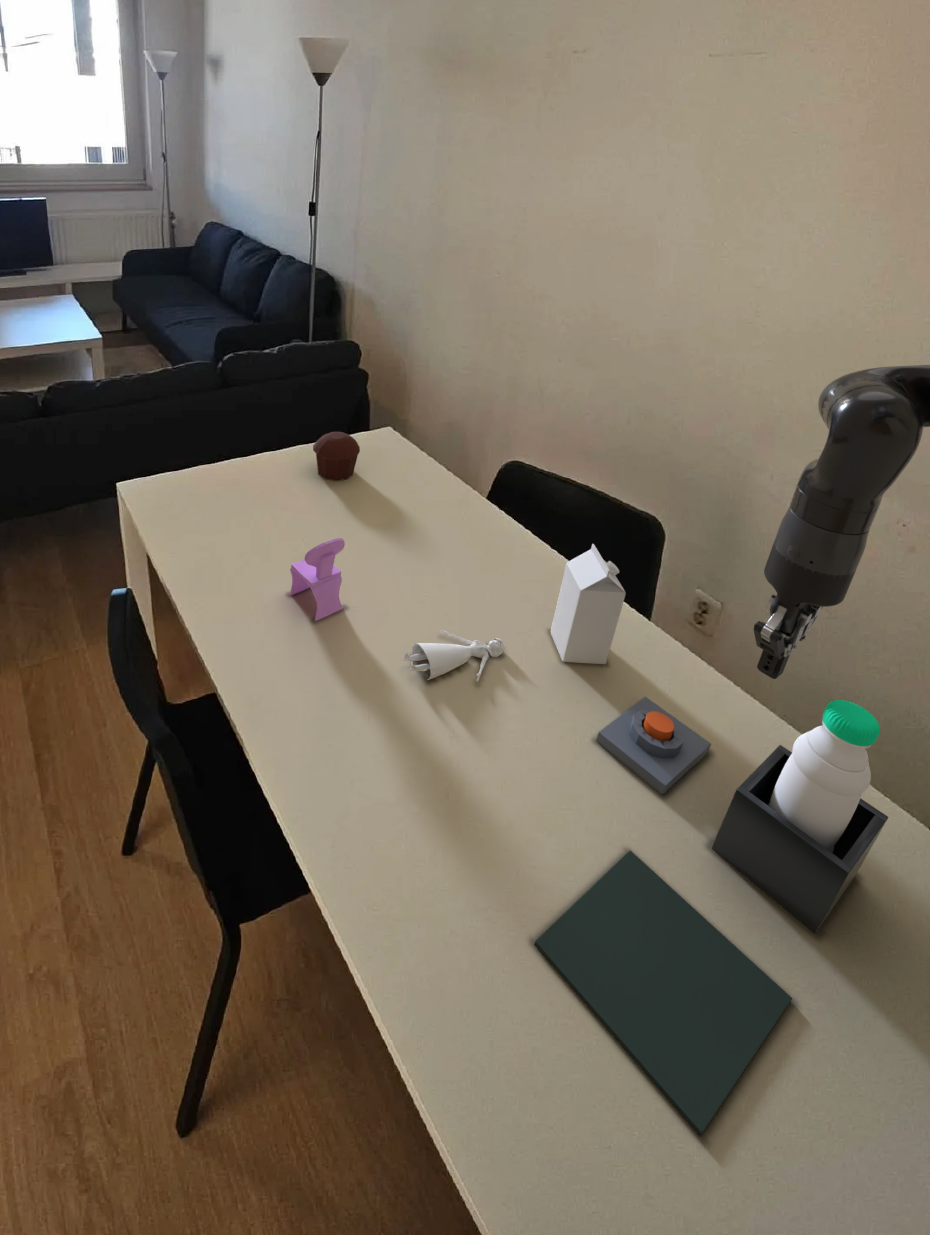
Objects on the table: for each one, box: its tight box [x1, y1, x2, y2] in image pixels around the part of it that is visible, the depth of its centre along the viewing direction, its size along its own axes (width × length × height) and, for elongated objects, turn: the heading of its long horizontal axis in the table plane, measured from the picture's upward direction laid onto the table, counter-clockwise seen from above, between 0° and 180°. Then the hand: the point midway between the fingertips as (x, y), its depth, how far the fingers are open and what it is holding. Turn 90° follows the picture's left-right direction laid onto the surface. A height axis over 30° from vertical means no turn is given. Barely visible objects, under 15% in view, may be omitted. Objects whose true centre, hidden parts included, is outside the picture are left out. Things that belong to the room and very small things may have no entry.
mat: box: [533, 850, 793, 1137], centre depth 72 cm, size 18×18×1 cm
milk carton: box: [550, 543, 627, 665], centre depth 111 cm, size 7×7×19 cm
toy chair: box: [289, 537, 346, 622], centre depth 120 cm, size 8×9×15 cm
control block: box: [595, 696, 712, 796], centre depth 97 cm, size 12×10×4 cm
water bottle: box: [768, 699, 881, 853], centre depth 78 cm, size 7×7×25 cm
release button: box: [643, 711, 674, 741], centre depth 96 cm, size 4×4×2 cm
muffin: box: [312, 431, 361, 482], centre depth 166 cm, size 12×11×10 cm
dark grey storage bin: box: [711, 744, 889, 934], centre depth 81 cm, size 11×11×11 cm
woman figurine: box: [402, 629, 505, 682], centre depth 111 cm, size 12×4×18 cm
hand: (768, 671), depth 81 cm, fingers closed
